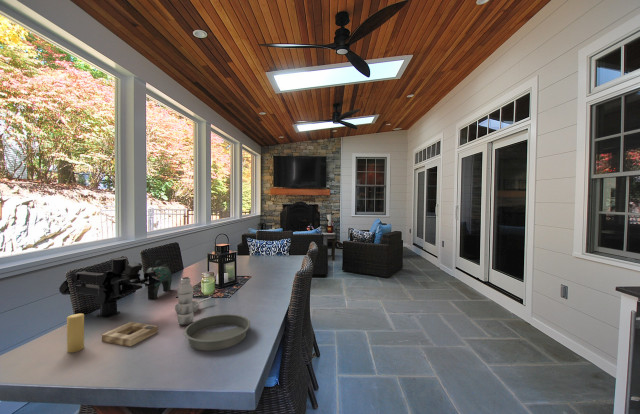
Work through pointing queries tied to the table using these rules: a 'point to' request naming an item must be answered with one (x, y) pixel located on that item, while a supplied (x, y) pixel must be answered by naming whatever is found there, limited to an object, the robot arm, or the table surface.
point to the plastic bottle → (185, 302)
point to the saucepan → (194, 305)
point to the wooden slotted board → (128, 340)
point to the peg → (75, 333)
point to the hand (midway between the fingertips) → (151, 284)
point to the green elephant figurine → (164, 278)
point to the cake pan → (217, 338)
